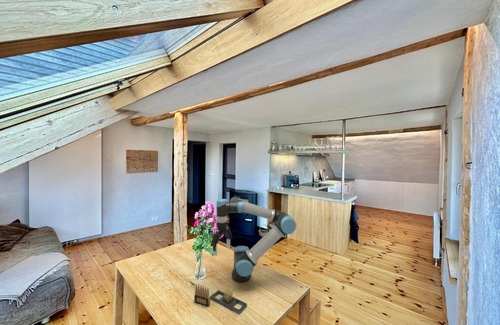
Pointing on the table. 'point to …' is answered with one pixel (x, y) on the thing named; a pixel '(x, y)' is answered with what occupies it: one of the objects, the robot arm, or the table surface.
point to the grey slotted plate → (230, 305)
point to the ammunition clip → (202, 296)
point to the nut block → (228, 296)
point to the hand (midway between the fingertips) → (222, 251)
